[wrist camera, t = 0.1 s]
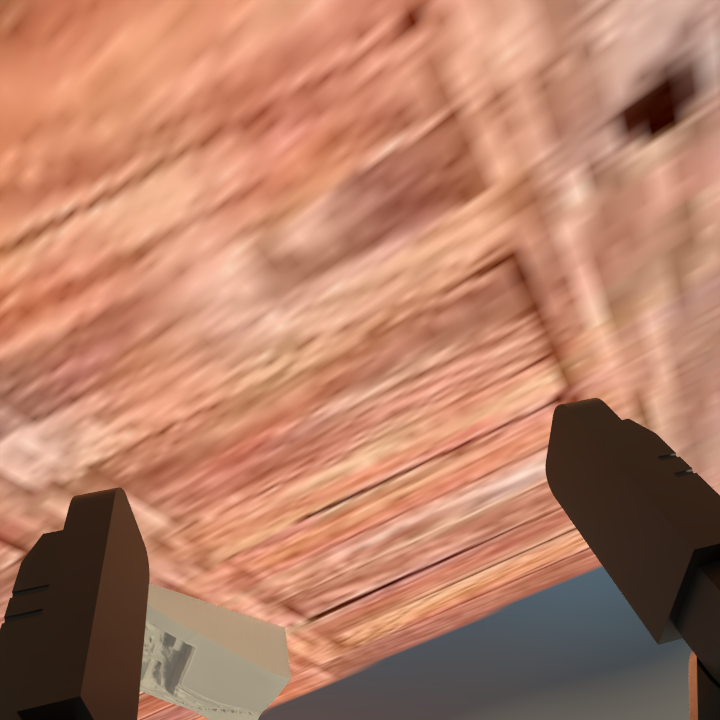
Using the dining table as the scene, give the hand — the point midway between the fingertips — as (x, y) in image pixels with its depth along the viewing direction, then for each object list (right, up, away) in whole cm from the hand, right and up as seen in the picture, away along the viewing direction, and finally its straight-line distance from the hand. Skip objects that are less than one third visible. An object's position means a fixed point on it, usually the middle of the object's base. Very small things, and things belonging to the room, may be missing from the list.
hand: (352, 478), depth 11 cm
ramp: (-16, -25, +47) cm, 55 cm away
